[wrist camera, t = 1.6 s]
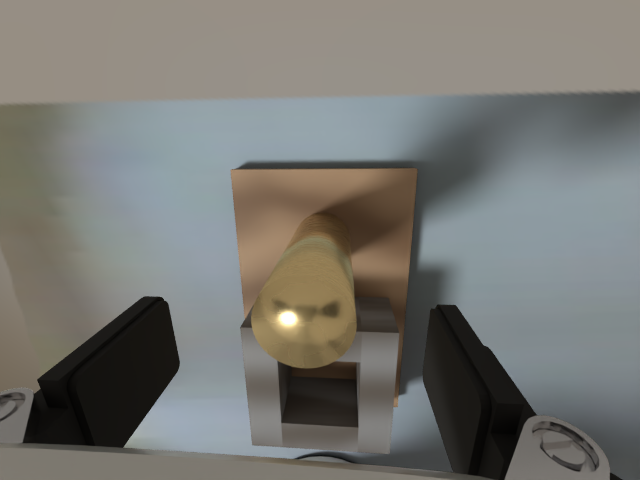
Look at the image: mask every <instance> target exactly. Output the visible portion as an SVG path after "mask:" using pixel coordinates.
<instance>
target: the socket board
mask: <svg viewBox="0 0 640 480" xmlns="http://www.w3.org/2000/svg"><path fill="white" fill-rule="evenodd" d="M417 171H418V169H416V168H297V169H232V170H231V179H232V190H233V200H234V210H235V221H236V231H237V242H238V252H239V263H240V273H241V283H242V294H243V304H244V315H245V320H244V322H243V324H242V325H241V327H240V329H241V339H242V349H243V359H244V368H245V378H246V388H247V398H248V408H249V417H250V427H251V437H252V445H257V446H273V447H288V448H304V449H319V450H334V451H350V452H365V453H381V454H390V444H391V431H392V419H393V407H398V395H399V383H400V371H401V360H402V348H403V336H404V324H405V313H406V301H407V289H408V277H409V265H410V254H411V242H412V230H413V218H414V206H415V195H416V183H417ZM316 213H328V214H332V215H334V216H336V217H338V218H339V219H340V220H342V221H343V222H344V224H345V225H346V227H347V229H348V231H349V234H350V244H351V257H352V270H353V283H354V296H355V309H356V323H357V328H356V334H355V338H354V340H353V343H352V345H351V346H350V348H349V349H348V350H347V352H346V353H345V354H344V355H343V356H342V357H340V358H339V359H337V360H336V361H334V362H332V363H330V364H328V365H325V366H322V367H318V368H297V367H292V366H289V365H286V364H284V363H281V362H279V361H277V360H276V359H274V358H273V357H271V356H270V355H269V354H268V353H267V352H266V351H264V349H263V348H262V347H261V346H260V344H259V343H258V341H257V340H256V338H255V335H254V333H253V330H252V324H251V314H252V309H253V305H254V303H255V301H256V299H257V297H258V295H259V294H260V292H261V290H262V288H263V287H264V285H265V283H266V281H267V280H268V278H269V276H270V275H271V273H272V271H273V269H274V268H275V266H276V264H277V262H278V261H279V259H280V257H281V256H282V254H283V252H284V250H285V249H286V247H287V245H288V243H289V242H290V240H291V238H292V237H293V235H294V233H295V231H296V230H297V228H298V226H299V225H300V223H301V222H302V221H303V220H304V219H305V218H307V217H308V216H310V215H313V214H316Z"/></svg>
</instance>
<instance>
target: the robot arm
mask: <svg viewBox="0 0 640 480" xmlns="http://www.w3.org/2000/svg"><path fill="white" fill-rule="evenodd" d="M179 365H180V361H179V356H178V351H177V346H176V341H175V336H174V331H173V326H172V320H171V315H170V310H169V305H168V303H167V302H166V301H164V299H163V298H162V297H149V296H146V297H143V298H141V299H140V300H138V301H137V302H136V303H135V304H133V305H132V306H131V307H129V308H128V309H127V310H126V311H124V312H123V313H122V314H121V315H119V316H118V317H117V318H115V319H114V320H113V321H112V322H110V323H109V324H108V325H106V326H105V327H104V328H103V329H101V330H100V331H99V332H97V333H96V334H95V335H94V336H92V337H91V338H90V339H88V340H87V341H86V342H85V343H83V344H82V345H81V346H80V347H78V348H77V349H76V350H74V351H73V352H72V353H71V354H69V355H68V356H67V357H65V358H64V359H63V360H62V361H60V362H59V363H58V364H56V365H55V366H54V367H53V368H51V369H50V370H49V371H48V372H46V373H45V374H44V375H42V376H41V377H40V378H39V379H38V380H37V381H38V383H39V386H40V388H41V389H40V390H39V391H37V392H36V393H35V394H34V392H33V391H32V390H31V389H28V388H15V389H10V390H6V391H3V392H0V480H622V479H621V478H619V477H617V476H615V475H614V474H612V473H610V467H609V462H608V459H607V457H606V456H605V454H604V452H603V451H602V449H601V448H600V447H599V446H598V445H597V444H596V443H595V441H594V440H593V439H592V438H590V437H589V436H588V435H586V434H585V433H584V432H583V431H581V430H580V429H578V428H576V427H575V426H573V425H571V424H569V423H567V422H565V421H563V420H560V419H558V418H554V417H550V416H545V415H544V416H537V415H536V413H535V412H534V411H533V409H532V408H531V406H530V405H529V404H528V402H527V401H526V399H525V398H524V396H523V395H522V394H521V392H520V391H519V389H518V388H517V386H516V385H515V384H514V382H513V381H512V379H511V378H510V377H509V375H508V374H507V372H506V371H505V369H504V368H503V367H502V365H501V364H500V362H499V361H498V360H497V358H496V357H495V355H494V354H493V352H492V351H491V350H490V349H489V348H488V347H486V346H484V345H483V344H482V343H481V341H480V340H479V338H478V337H477V335H476V334H475V332H474V331H473V329H472V328H471V327H470V325H469V324H468V322H467V321H466V319H465V318H464V316H463V315H462V313H461V312H460V310H459V309H458V308H457V306H456V305H437V306H436V309H431V311H430V317H429V325H428V334H427V342H426V350H425V358H424V366H423V382H424V385H425V388H426V391H427V394H428V397H429V400H430V403H431V406H432V409H433V412H434V416H435V419H436V422H437V425H438V428H439V431H440V434H441V437H442V440H443V443H444V446H445V449H446V452H447V455H448V458H449V461H450V464H451V467H452V470H453V473H452V472H444V471H433V470H423V469H412V468H401V467H390V466H379V465H366V464H352V463H350V462H347V461H345V460H342V459H338V458H333V457H324V456H316V457H307V458H302V459H299V460H298V459H285V458H270V457H256V456H241V455H227V454H212V453H197V452H182V451H166V450H150V449H133V448H123V447H124V445H125V444H126V443H127V441H128V440H129V438H130V437H131V436H132V434H133V433H134V431H135V430H136V429H137V427H138V426H139V425H140V423H141V422H142V420H143V419H144V418H145V416H146V415H147V413H148V412H149V411H150V409H151V408H152V406H153V405H154V404H155V402H156V401H157V399H158V398H159V397H160V395H161V394H162V392H163V391H164V390H165V388H166V387H167V385H168V384H169V383H170V381H171V380H172V379H173V377H174V376H175V374H176V373H177V371H178V369H179Z"/></svg>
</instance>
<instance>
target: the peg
mask: <svg viewBox="0 0 640 480" xmlns="http://www.w3.org/2000/svg"><path fill="white" fill-rule="evenodd" d="M251 324H252V330H253V333H254V335H255V338H256V340H257V341H258V343H259V344H260V346H261V347H262V348H263V349H264V351H266V352H267V353H268V354H269V355H270V356H271V357H273V358H274V359H276V360H277V361H279V362H281V363H284V364H286V365H289V366H292V367H297V368H318V367H322V366H325V365H328V364H330V363H332V362H334V361H336V360H337V359H339V358H340V357H342V356H343V355H344V354H345V353H346V352H347V350H348V349H349V348H350V346H351V345H352V343H353V340H354V338H355V334H356V328H357V323H356V309H355V296H354V283H353V270H352V257H351V244H350V234H349V231H348V229H347V227H346V225H345V224H344V222H343V221H342V220H340V219H339V218H338V217H336V216H334V215H332V214H328V213H316V214H313V215H310V216H308V217H307V218H305V219H304V220H303V221H302V222H301V223H300V225H299V226H298V228H297V230H296V231H295V233H294V235H293V237H292V238H291V240H290V242H289V243H288V245H287V247H286V249H285V250H284V252H283V254H282V256H281V257H280V259H279V261H278V262H277V264H276V266H275V268H274V269H273V271H272V273H271V275H270V276H269V278H268V280H267V281H266V283H265V285H264V287H263V288H262V290H261V292H260V294H259V295H258V297H257V299H256V301H255V303H254V305H253V309H252V314H251Z"/></svg>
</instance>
